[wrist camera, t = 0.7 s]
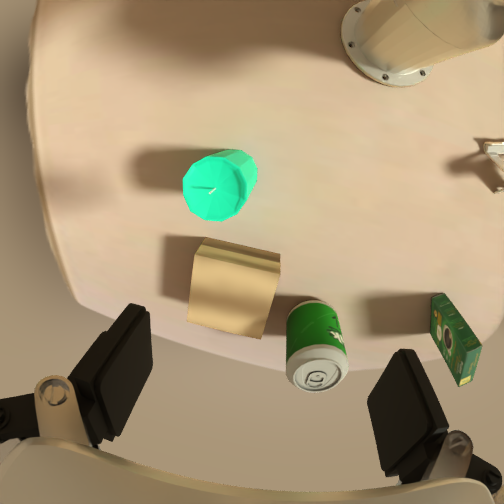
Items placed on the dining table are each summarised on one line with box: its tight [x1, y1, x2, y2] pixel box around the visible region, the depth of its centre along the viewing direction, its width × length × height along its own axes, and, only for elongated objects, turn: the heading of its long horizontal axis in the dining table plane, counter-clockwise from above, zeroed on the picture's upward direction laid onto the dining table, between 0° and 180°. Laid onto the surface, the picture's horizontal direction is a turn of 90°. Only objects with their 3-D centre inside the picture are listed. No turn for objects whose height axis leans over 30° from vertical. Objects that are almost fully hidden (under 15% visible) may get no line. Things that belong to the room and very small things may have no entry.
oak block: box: [187, 245, 280, 339], centre depth 36 cm, size 10×10×3 cm
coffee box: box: [430, 293, 482, 387], centre depth 33 cm, size 8×3×13 cm, turn 19°
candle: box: [183, 149, 257, 222], centre depth 29 cm, size 6×6×12 cm
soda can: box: [286, 300, 349, 393], centre depth 36 cm, size 8×8×12 cm
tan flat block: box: [201, 237, 280, 263], centre depth 39 cm, size 10×10×3 cm
